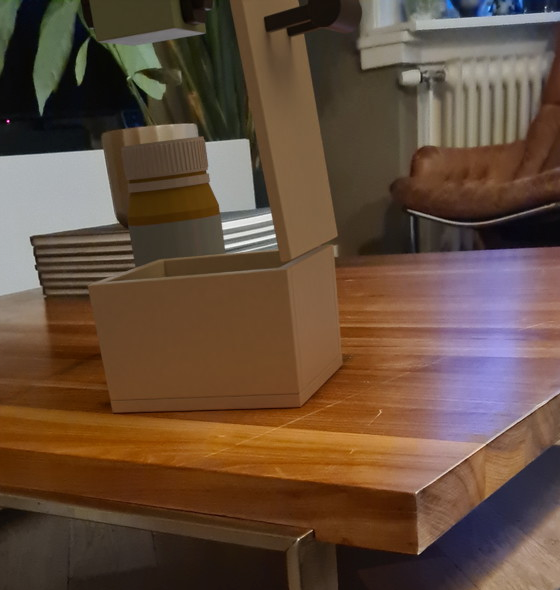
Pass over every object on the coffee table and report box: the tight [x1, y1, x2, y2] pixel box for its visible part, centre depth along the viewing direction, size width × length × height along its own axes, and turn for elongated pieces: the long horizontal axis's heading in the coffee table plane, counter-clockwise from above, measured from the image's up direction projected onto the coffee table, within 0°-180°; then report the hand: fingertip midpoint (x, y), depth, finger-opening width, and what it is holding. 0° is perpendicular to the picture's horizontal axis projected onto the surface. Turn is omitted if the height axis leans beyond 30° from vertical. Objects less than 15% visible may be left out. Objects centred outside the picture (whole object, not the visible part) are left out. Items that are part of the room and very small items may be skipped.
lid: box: [229, 0, 363, 262], centre depth 51 cm, size 13×11×5 cm
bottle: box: [120, 136, 227, 268], centre depth 70 cm, size 7×7×15 cm
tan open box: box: [87, 243, 344, 414], centre depth 59 cm, size 13×11×8 cm
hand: (150, 29), depth 52 cm, fingers closed on block, 4 cm apart
